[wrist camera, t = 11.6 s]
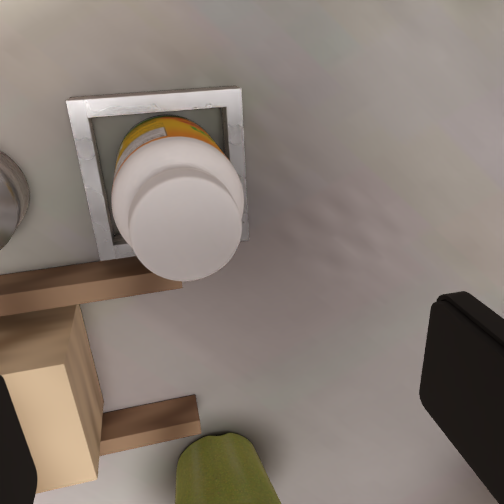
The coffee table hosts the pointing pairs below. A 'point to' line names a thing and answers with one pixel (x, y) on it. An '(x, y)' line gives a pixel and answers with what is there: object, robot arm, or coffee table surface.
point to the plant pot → (222, 473)
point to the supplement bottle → (177, 199)
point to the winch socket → (80, 112)
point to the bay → (75, 370)
